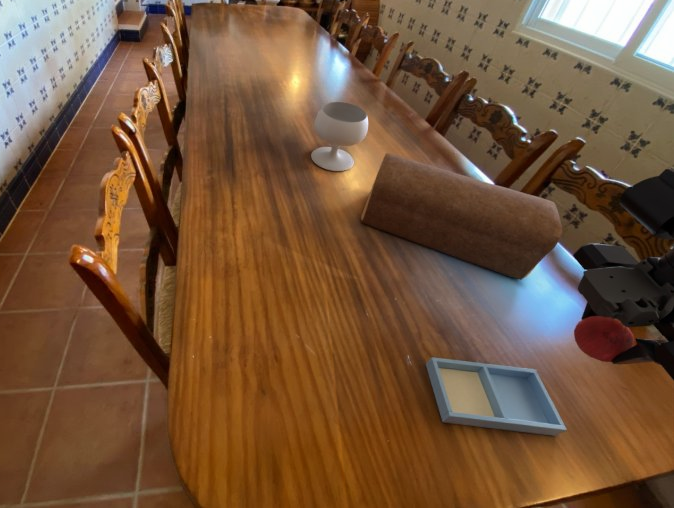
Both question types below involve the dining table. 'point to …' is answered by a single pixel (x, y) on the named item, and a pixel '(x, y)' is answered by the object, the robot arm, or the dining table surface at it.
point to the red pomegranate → (603, 337)
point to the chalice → (339, 134)
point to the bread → (462, 216)
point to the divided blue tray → (493, 397)
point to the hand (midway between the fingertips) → (599, 340)
